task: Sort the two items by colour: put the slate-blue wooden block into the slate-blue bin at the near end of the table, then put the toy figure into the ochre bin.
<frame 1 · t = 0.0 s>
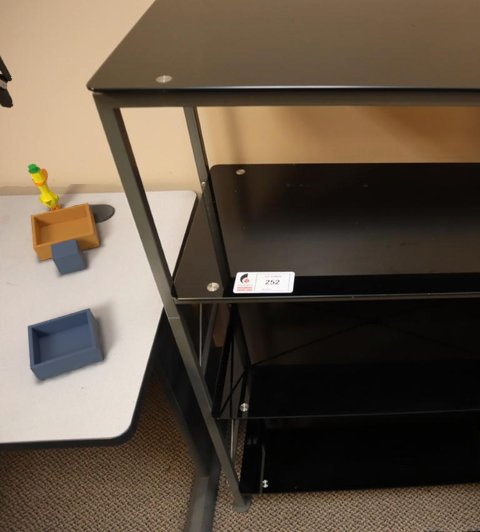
toy figure: (56, 209, 114), on the table
ochre bin: (68, 237, 108), on the table
blue block: (72, 264, 103), on the table
blue bin: (69, 349, 89), on the table
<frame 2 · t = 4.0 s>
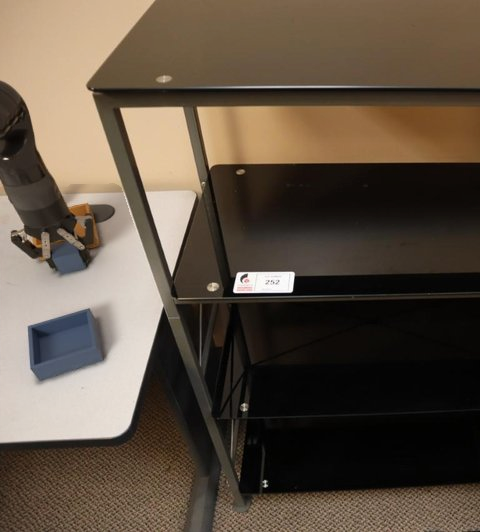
hand: (71, 263, 102), 0 cm above the table, tool pointing down, fingers closed on blue block, 4 cm apart
blue block: (72, 264, 103), on the table, touching gripper
everything else where it was.
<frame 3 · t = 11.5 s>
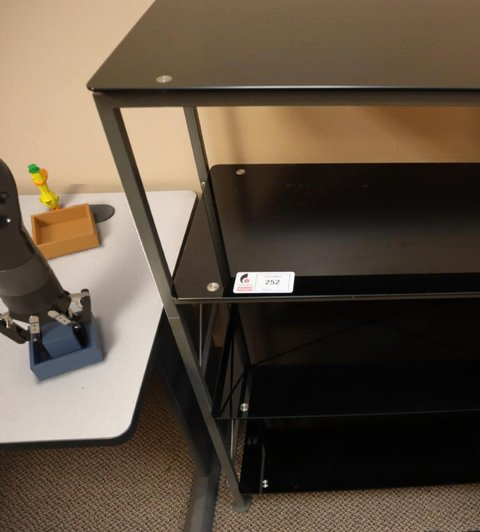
hand: (66, 344, 88), 1 cm above the table, tool pointing down, fingers closed on blue block, 4 cm apart
blue block: (67, 345, 88), point 1 cm above the table, touching gripper
everything else where it was.
when the fingers open (3 cm above the table, at t = 21.8 s): blue block drops 2 cm, resting on blue bin.
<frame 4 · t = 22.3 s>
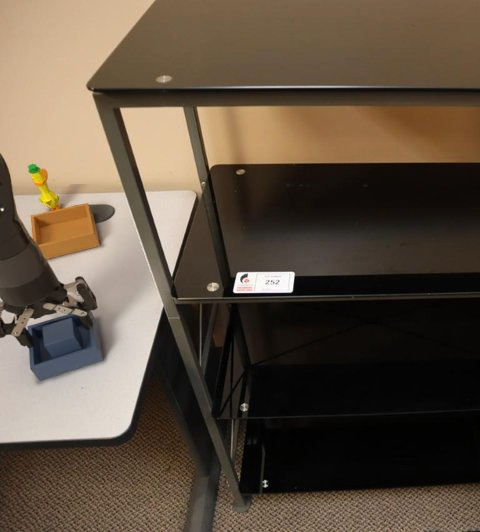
hand: (60, 334, 86), 4 cm above the table, tool pointing down, fingers open, 8 cm apart
blue block: (68, 346, 88), point 1 cm above the table, touching blue bin
everything else where it was.
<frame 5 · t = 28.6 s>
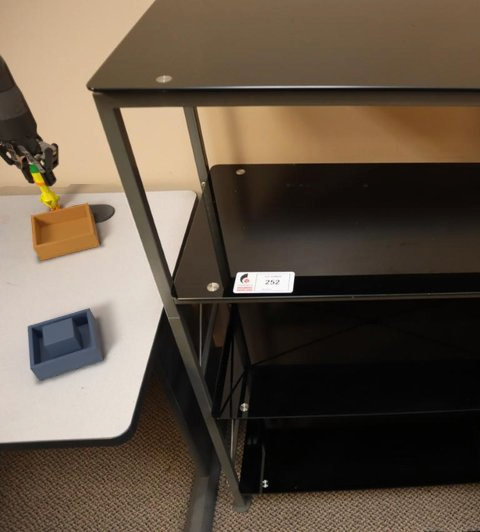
hand: (42, 182, 109), 7 cm above the table, tool pointing down, fingers closed on toy figure, 3 cm apart
toy figure: (56, 209, 114), on the table, touching gripper
everything else where it was.
when the fingers open (8 cm above the table, at t = 34.8 s): toy figure stays where it is, resting on ochre bin.
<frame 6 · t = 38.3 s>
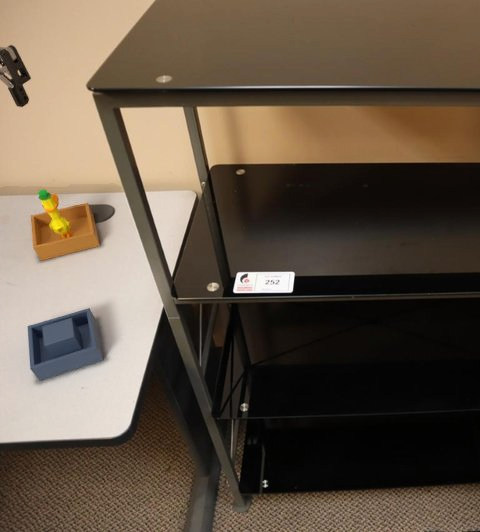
hand: (0, 101, 91), 28 cm above the table, tool pointing down, fingers open, 8 cm apart
toy figure: (67, 236, 108), resting on ochre bin
everything else where it was.
at the end: blue block inside the target area in the blue bin (0.1 cm from its centre), point 0.6 cm above the blue bin's base; toy figure inside the target area in the ochre bin (0.1 cm from its centre), point 0.4 cm above the ochre bin's base; toy figure tilted 0° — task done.
